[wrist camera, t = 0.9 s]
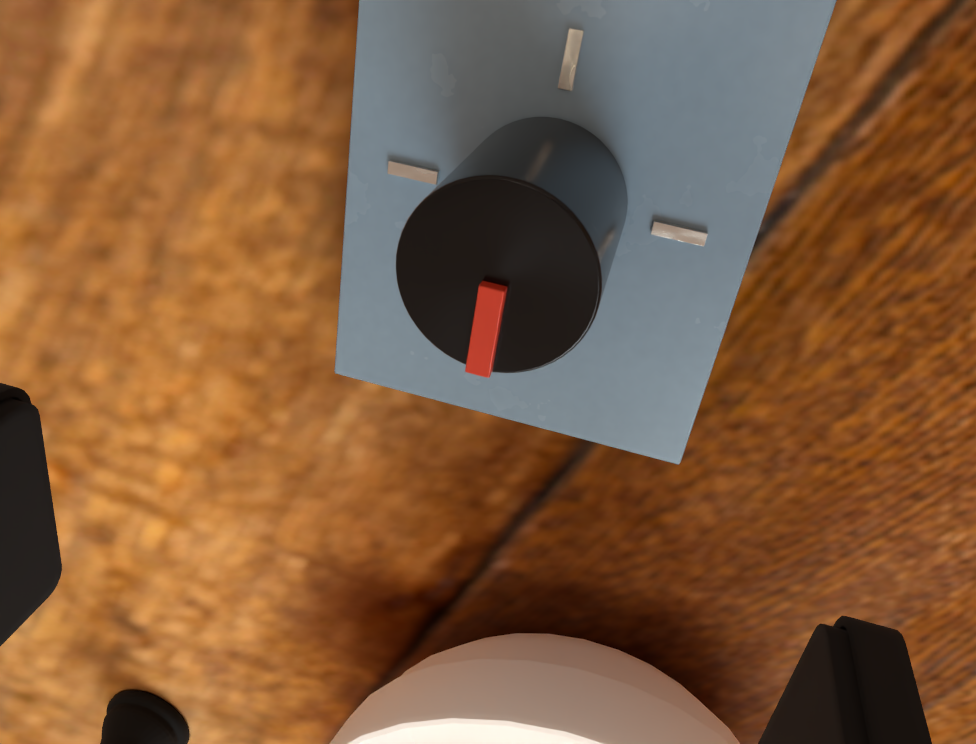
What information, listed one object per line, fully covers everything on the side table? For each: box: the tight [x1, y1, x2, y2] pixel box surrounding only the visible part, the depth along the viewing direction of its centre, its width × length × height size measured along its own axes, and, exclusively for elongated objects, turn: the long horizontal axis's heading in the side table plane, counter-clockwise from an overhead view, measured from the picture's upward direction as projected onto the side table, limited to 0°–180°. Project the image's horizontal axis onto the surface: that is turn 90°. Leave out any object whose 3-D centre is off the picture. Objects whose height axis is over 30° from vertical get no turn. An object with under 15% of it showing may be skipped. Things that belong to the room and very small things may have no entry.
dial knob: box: [396, 117, 628, 378], centre depth 20 cm, size 4×4×6 cm
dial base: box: [335, 0, 837, 464], centre depth 23 cm, size 14×11×3 cm
